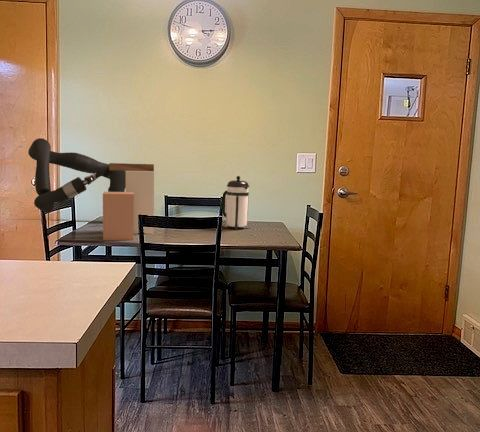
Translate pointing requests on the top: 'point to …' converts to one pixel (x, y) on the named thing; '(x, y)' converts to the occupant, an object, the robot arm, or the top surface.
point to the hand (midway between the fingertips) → (103, 172)
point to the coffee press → (236, 203)
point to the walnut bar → (131, 167)
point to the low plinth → (118, 216)
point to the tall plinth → (141, 195)
